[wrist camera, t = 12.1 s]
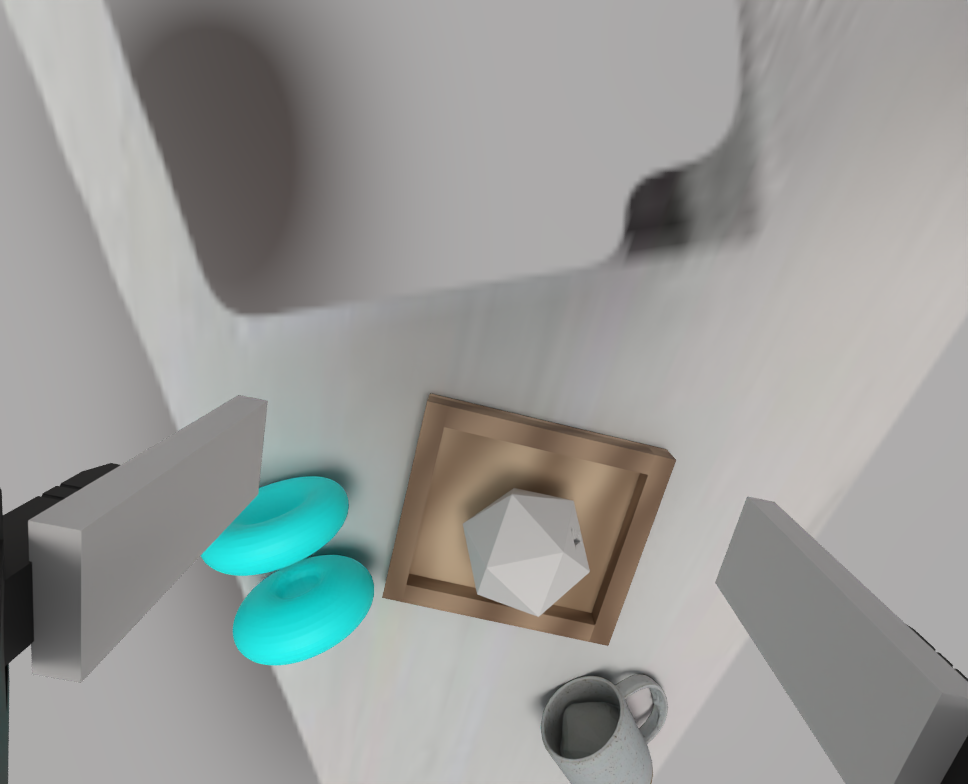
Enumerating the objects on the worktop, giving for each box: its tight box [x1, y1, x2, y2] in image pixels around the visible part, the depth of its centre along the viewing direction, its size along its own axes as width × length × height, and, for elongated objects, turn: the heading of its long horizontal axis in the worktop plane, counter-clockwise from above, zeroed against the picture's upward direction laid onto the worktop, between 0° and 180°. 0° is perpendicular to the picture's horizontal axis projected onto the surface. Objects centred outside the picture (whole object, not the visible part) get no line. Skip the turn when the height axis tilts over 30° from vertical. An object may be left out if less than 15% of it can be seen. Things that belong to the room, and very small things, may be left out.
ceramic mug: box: [541, 674, 668, 784], centre depth 44 cm, size 10×8×7 cm
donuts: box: [201, 476, 374, 665], centre depth 39 cm, size 10×10×10 cm
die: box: [463, 488, 590, 617], centre depth 39 cm, size 8×9×10 cm
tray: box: [382, 393, 676, 646], centre depth 42 cm, size 19×17×2 cm
